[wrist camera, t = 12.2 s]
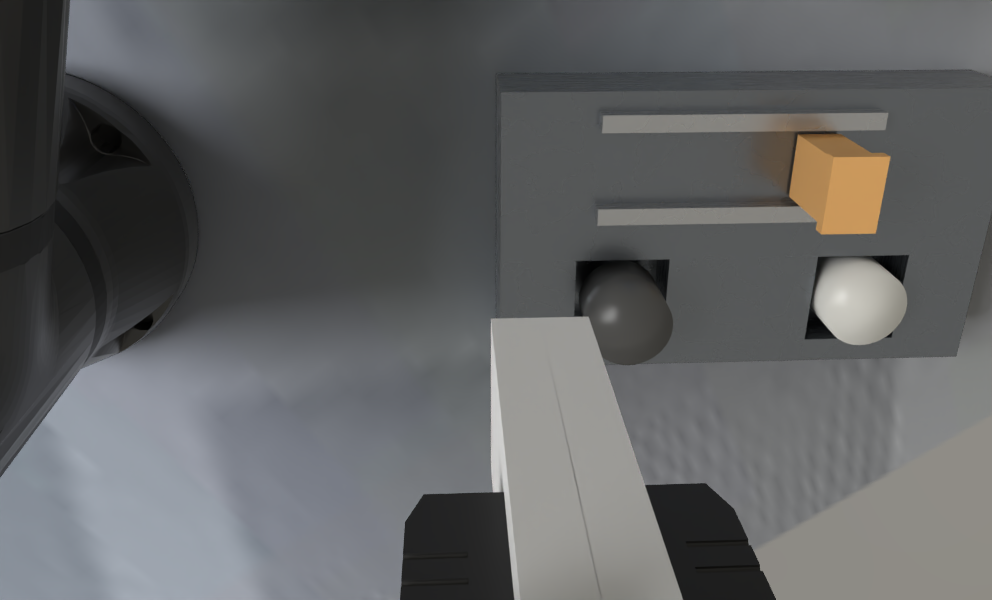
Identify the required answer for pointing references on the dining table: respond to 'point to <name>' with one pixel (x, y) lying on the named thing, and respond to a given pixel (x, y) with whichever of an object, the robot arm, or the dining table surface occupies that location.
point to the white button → (857, 298)
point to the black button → (626, 312)
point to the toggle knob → (838, 183)
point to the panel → (739, 200)
